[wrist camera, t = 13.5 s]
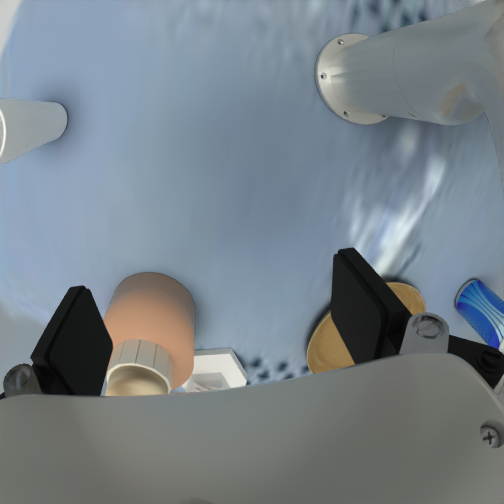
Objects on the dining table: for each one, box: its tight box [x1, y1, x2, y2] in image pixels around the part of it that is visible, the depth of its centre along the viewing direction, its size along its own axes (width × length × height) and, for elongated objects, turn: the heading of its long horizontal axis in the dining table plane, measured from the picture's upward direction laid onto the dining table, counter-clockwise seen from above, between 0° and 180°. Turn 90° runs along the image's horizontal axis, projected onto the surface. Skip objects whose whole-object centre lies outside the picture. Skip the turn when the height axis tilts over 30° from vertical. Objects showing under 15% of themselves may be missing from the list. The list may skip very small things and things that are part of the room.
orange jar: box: [103, 272, 195, 394], centre depth 38 cm, size 13×13×15 cm
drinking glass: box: [0, 98, 67, 166], centre depth 23 cm, size 7×7×15 cm
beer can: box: [456, 280, 504, 352], centre depth 46 cm, size 8×8×16 cm
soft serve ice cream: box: [181, 348, 247, 393], centre depth 46 cm, size 12×15×14 cm
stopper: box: [105, 365, 168, 396], centre depth 31 cm, size 7×7×6 cm
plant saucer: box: [307, 282, 426, 374], centre depth 51 cm, size 24×24×3 cm
